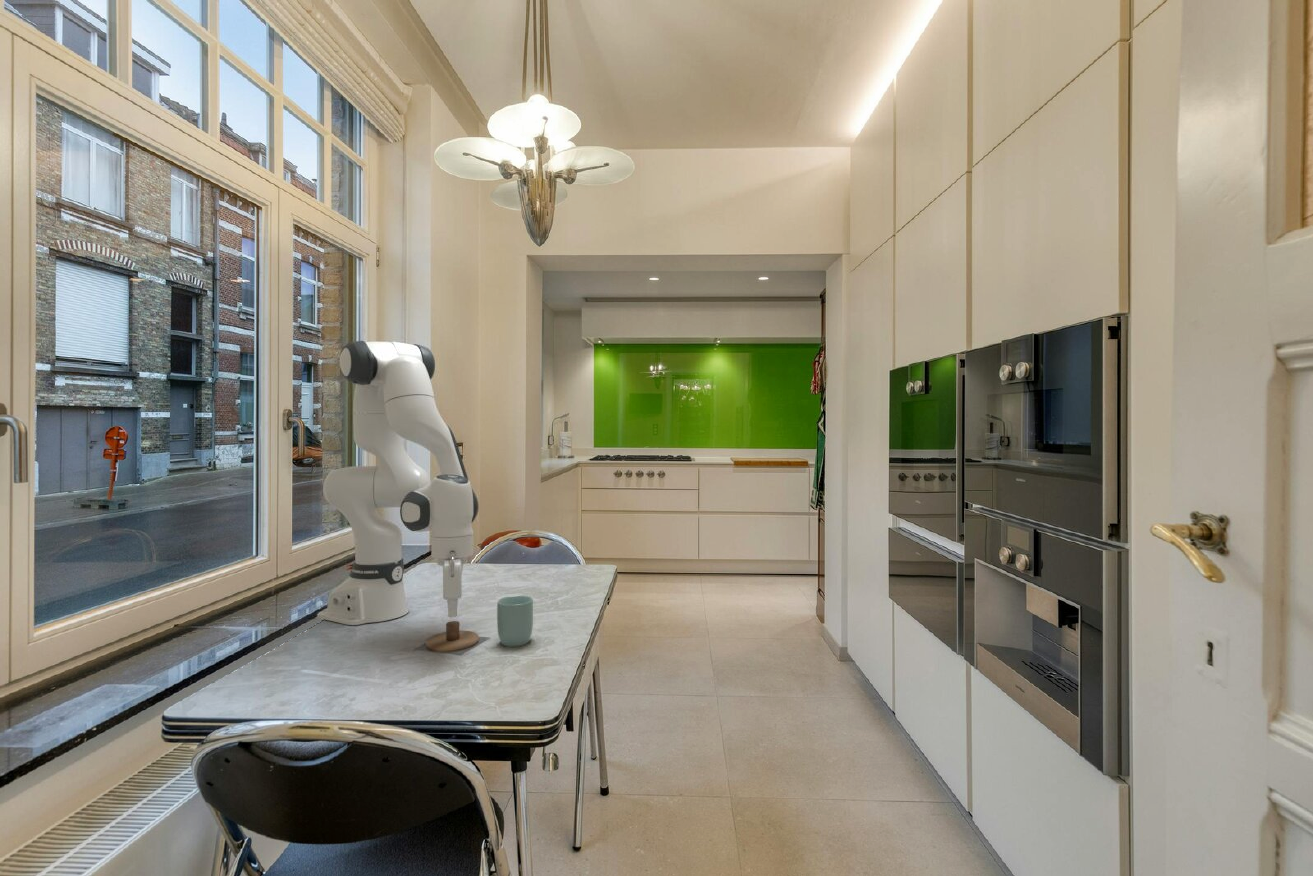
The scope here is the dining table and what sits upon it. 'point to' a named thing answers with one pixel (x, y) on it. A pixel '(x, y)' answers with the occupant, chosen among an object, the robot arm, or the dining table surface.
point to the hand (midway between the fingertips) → (452, 611)
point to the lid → (452, 639)
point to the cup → (515, 620)
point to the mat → (481, 640)
